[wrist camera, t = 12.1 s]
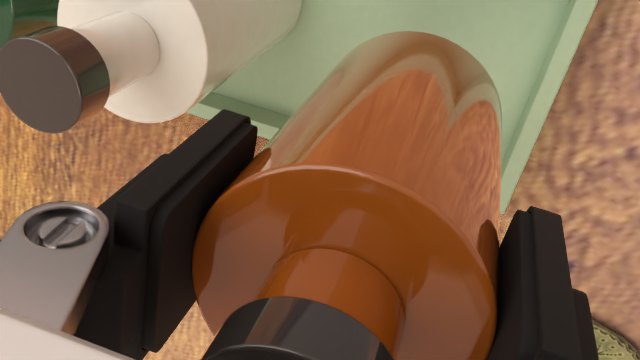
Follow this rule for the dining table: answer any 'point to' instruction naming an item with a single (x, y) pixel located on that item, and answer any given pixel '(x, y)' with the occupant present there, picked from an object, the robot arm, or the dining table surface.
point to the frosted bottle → (135, 57)
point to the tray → (429, 17)
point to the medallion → (612, 344)
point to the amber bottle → (364, 217)
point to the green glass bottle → (25, 17)
